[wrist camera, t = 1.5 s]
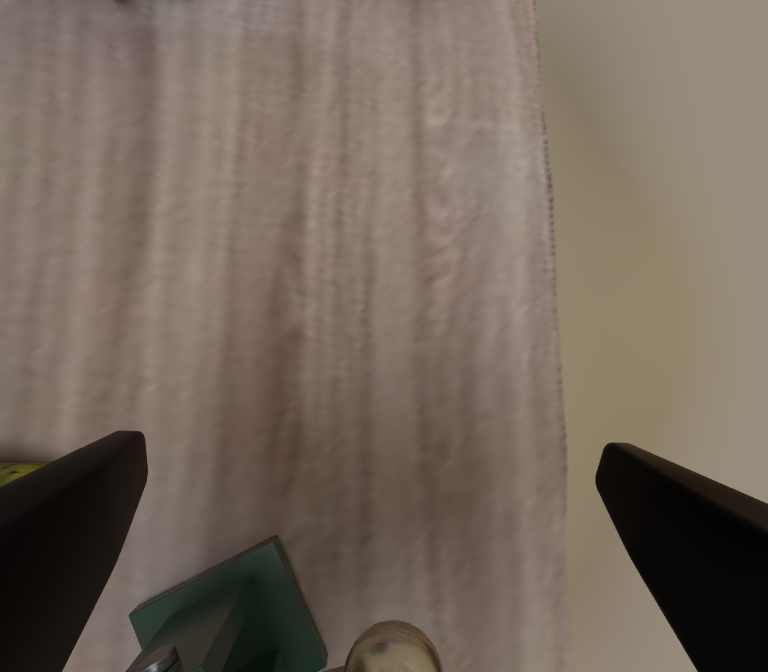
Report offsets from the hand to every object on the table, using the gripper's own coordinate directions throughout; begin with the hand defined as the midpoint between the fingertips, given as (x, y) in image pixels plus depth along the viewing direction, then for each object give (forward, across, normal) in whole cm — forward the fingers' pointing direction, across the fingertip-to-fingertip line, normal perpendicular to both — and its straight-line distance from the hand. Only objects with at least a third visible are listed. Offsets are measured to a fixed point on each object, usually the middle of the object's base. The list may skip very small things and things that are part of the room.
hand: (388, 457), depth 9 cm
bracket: (+11, +5, +19) cm, 23 cm away
